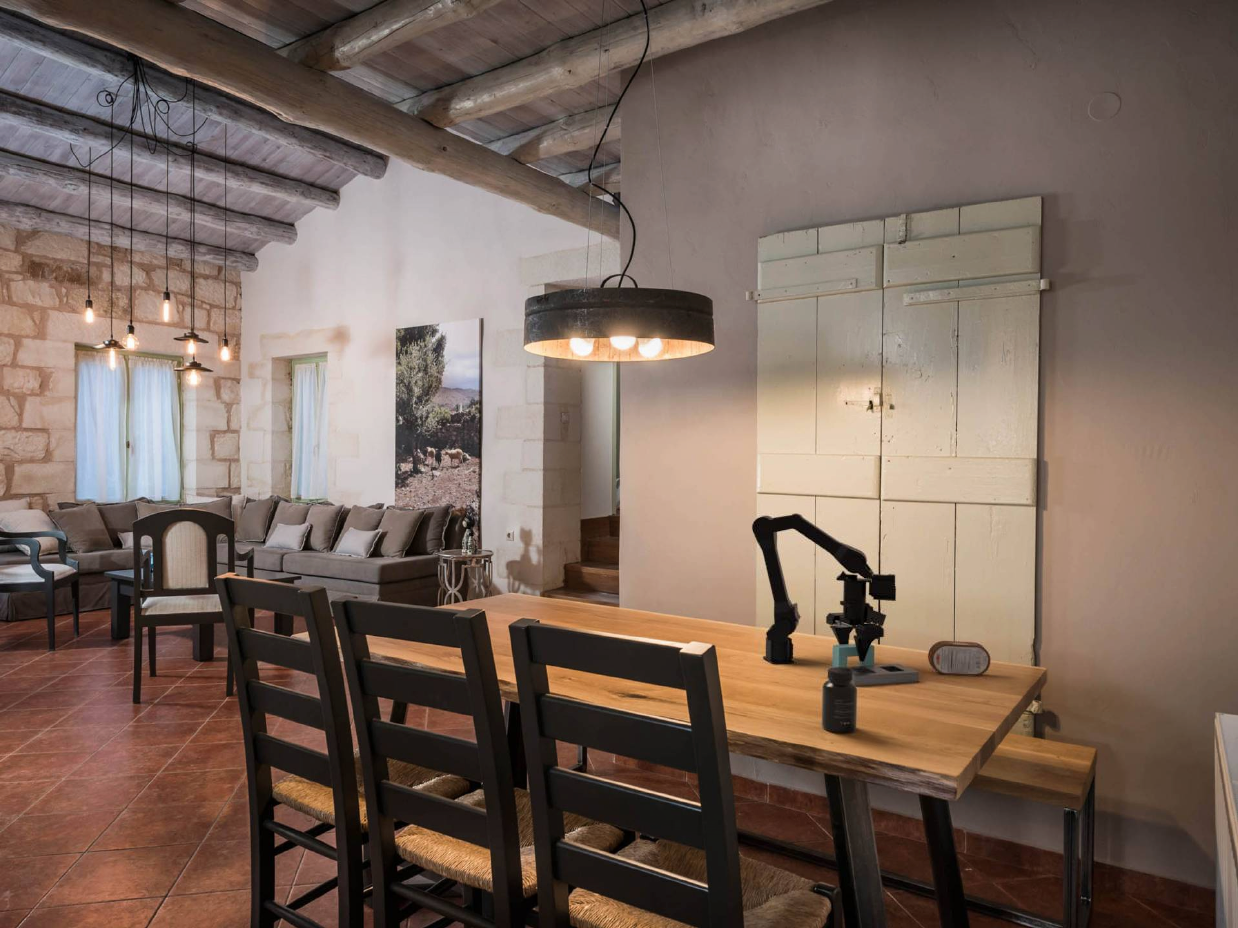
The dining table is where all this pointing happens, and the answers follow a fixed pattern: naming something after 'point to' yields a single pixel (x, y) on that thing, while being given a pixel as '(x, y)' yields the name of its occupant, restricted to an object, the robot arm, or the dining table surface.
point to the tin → (959, 658)
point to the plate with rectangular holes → (883, 674)
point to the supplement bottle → (839, 701)
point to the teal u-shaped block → (850, 655)
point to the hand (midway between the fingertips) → (853, 657)
